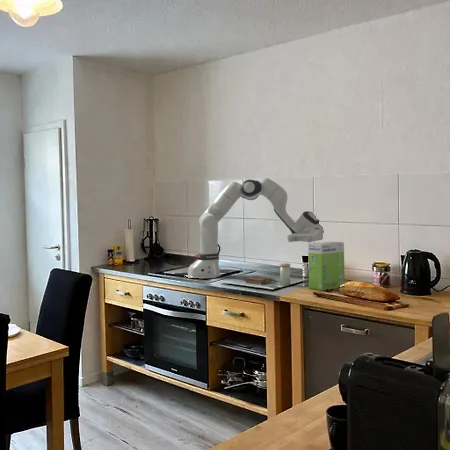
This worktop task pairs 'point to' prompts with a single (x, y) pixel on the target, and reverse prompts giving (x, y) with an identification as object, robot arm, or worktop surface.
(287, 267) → the spice jar
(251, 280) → the walnut base
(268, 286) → the worktop surface
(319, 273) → the toothbrush box
